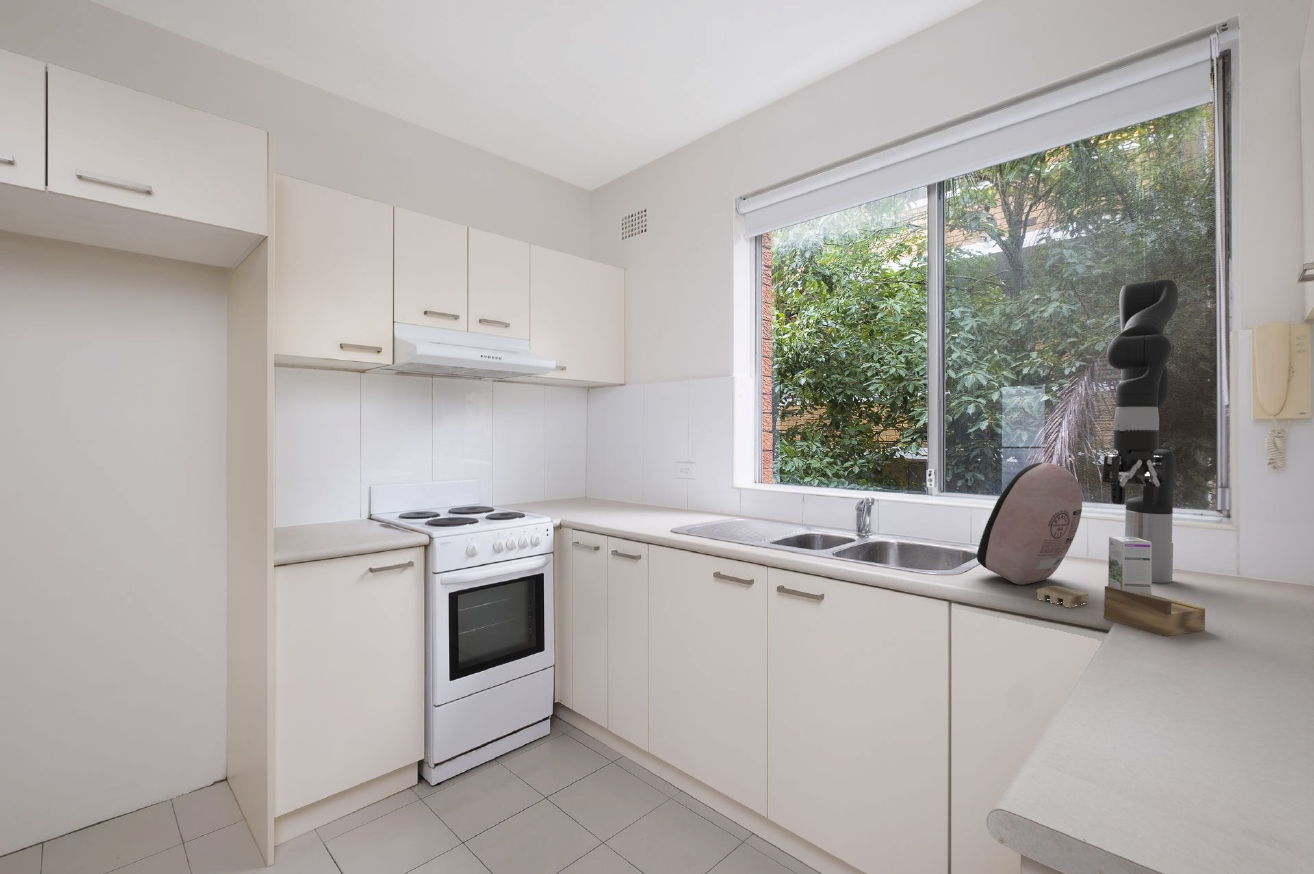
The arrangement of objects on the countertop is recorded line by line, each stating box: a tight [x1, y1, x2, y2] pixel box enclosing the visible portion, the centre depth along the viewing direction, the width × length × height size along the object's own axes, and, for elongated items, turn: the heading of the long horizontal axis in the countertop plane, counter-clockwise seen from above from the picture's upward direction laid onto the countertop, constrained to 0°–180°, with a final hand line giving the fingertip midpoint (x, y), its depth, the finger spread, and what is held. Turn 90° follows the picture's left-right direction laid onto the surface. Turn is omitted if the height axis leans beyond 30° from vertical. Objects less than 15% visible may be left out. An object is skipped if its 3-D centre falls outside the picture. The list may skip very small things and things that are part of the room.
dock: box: [1103, 585, 1206, 637], centre depth 115 cm, size 11×11×6 cm
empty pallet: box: [1036, 585, 1089, 609], centre depth 129 cm, size 7×7×2 cm
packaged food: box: [976, 461, 1083, 586], centre depth 145 cm, size 22×20×30 cm
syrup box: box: [1107, 535, 1153, 595], centre depth 127 cm, size 6×6×14 cm
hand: (1133, 503), depth 126 cm, fingers open, 8 cm apart
